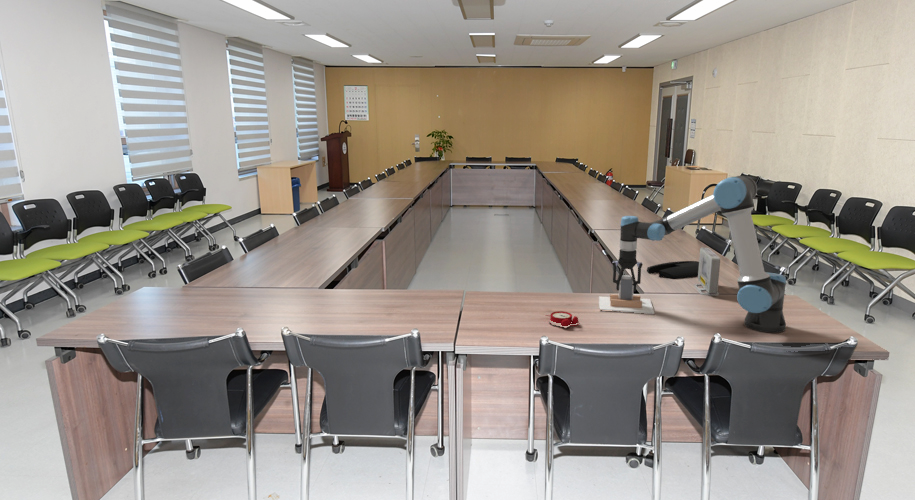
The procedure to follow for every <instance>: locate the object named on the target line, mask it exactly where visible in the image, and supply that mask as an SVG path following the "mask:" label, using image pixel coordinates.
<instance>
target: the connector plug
mask: <svg viewBox="0 0 915 500" xmlns="http://www.w3.org/2000/svg"><path fill="white" fill-rule="evenodd" d="M620 283H621V295H620V300H632V284H633V279H632V275H629V274H628V275H623V274H622V277H621V280H620Z"/></svg>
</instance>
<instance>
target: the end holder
mask: <svg viewBox="0 0 915 500" xmlns="http://www.w3.org/2000/svg"><path fill="white" fill-rule="evenodd" d="M599 308H600V309H602V310H612V311H622V312H621V313H623V312H634V313H633V314H641V313H644V315H645V314H646V315H655V309H654V307H653V304H652V301H651V299H650V298H641V295H636V294H635V295H634V294H633V299H632V300H620V298H619V294H614V293H613V294H612V293H610V294H609V296H600V295H599V296H598V309H599Z"/></svg>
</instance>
